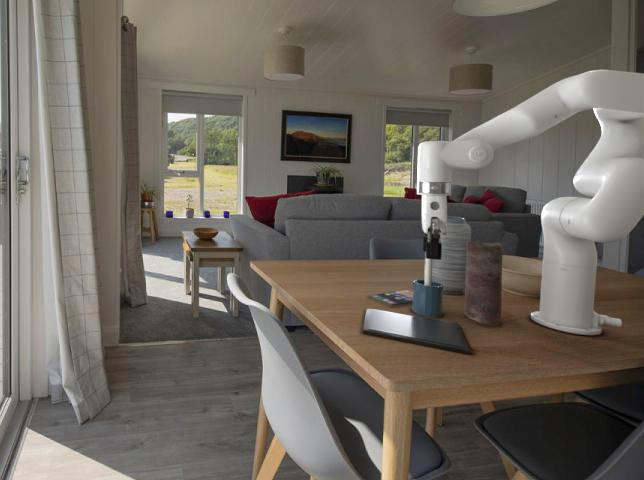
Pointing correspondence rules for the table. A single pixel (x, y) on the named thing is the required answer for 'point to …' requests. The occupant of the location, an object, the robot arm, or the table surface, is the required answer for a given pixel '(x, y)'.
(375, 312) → the tablet
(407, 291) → the smartphone
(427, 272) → the stylus
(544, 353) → the table surface
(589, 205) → the robot arm
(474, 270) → the candle
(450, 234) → the vase
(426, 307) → the pen cup
